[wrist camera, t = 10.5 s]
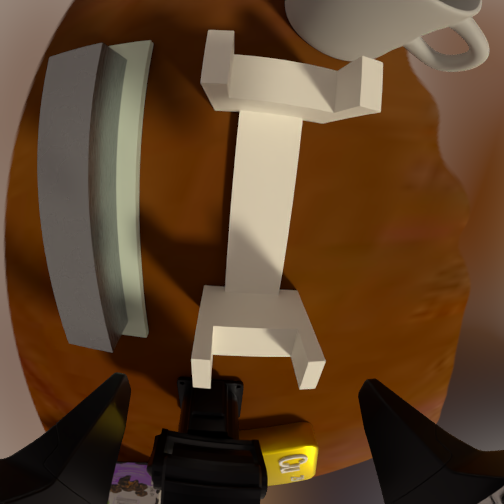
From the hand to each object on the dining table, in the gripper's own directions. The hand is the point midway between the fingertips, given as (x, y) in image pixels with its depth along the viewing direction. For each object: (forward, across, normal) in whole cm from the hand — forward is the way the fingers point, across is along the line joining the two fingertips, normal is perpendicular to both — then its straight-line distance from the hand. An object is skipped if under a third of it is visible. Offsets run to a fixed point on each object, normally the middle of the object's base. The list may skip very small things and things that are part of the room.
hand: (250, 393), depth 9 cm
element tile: (+13, -5, +30) cm, 33 cm away
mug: (+12, -7, -19) cm, 24 cm away
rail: (+11, +11, -4) cm, 16 cm away
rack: (+12, -1, -4) cm, 13 cm away
